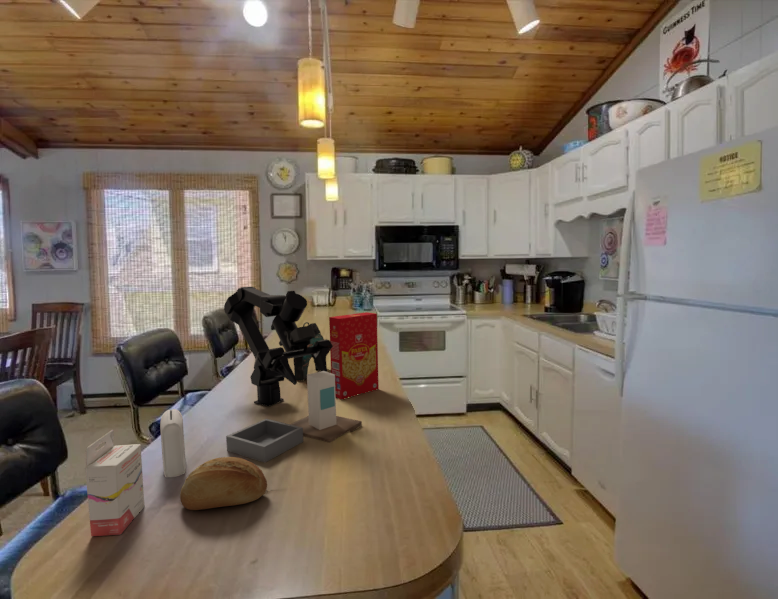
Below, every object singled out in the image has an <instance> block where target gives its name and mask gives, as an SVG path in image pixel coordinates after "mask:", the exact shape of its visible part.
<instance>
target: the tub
mask: <svg viewBox="0 0 778 599" xmlns="http://www.w3.org/2000/svg"><path fill="white" fill-rule="evenodd" d="M290 424H291V423H285V422H282V421H278V420H273V419H269V418H265V419H261V420H260V421H257V422H256V423H252V424H251V425H249V426H246V427H243V428H242V429H239V430H237V431H235V432H232V433H230V434H227V435H226V436H225V439H226V440H225V441H226V451H227V452H229V453H232V454H235V455H238V456H239V455H240V456H242V457H246V458H249V459H252V460H255V461H258V462H262V463H268V462H269V461H270V460H272V459H275V458H276V457H278V456H280V455H282V454H284V453H286V452H288V451H289V450H291V449H293V448H295V447H297V446H299V445H300V444H302V443H303V442H304V436H303V427H298V426H294V425H290Z"/></svg>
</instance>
